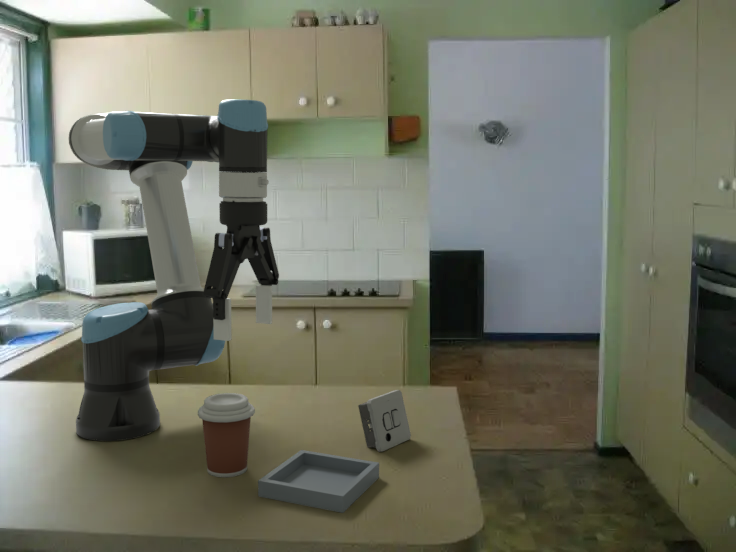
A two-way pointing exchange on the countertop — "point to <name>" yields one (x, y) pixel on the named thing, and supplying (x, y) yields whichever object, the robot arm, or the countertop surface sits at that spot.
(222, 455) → the coffee cup
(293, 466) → the dock tray
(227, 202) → the robot arm
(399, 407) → the electrical switch
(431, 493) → the countertop surface
